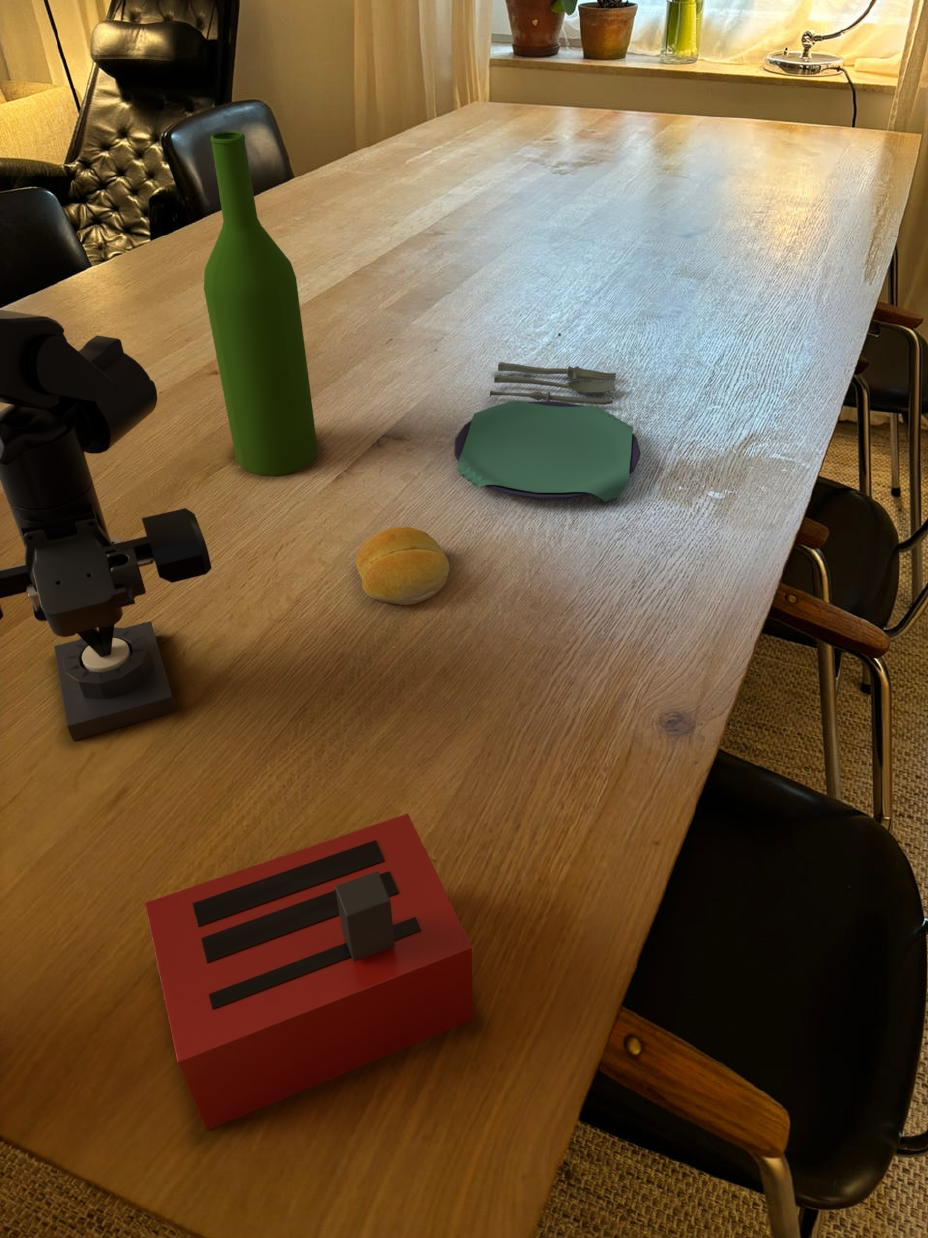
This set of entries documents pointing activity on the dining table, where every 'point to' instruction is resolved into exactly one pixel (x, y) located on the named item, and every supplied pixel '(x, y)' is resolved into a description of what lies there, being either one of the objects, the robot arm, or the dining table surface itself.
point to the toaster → (305, 970)
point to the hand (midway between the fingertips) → (105, 652)
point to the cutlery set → (549, 441)
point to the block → (114, 685)
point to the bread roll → (402, 566)
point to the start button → (106, 657)
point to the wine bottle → (257, 328)
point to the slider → (365, 916)
